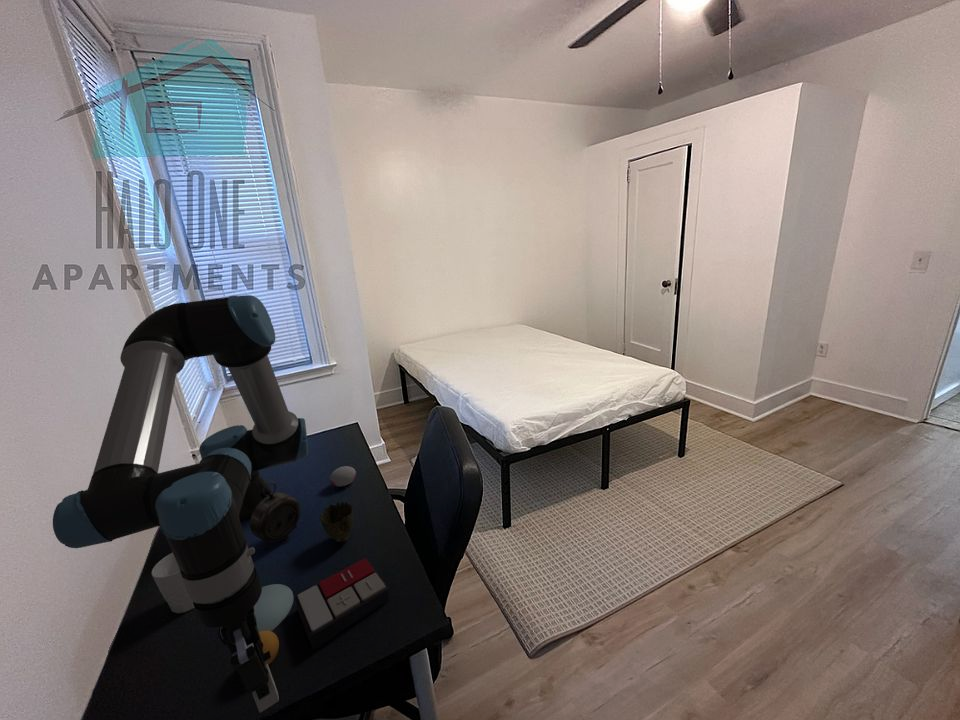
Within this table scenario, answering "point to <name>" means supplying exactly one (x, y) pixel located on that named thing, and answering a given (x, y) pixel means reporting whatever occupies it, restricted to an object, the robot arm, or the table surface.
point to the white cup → (172, 584)
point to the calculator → (340, 601)
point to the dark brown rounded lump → (338, 521)
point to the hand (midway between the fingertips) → (268, 702)
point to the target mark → (272, 606)
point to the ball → (269, 644)
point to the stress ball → (343, 476)
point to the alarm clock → (275, 517)
